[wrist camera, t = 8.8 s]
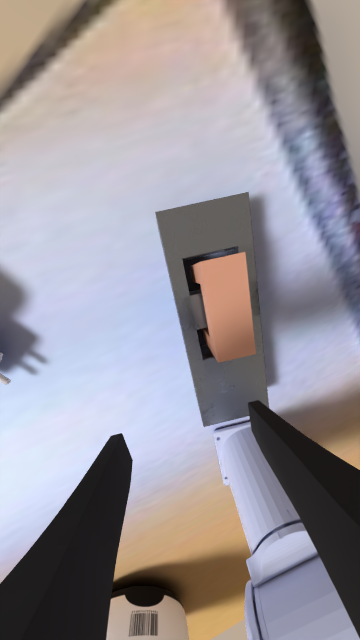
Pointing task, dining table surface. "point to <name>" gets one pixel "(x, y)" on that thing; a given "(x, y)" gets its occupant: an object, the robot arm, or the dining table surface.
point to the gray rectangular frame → (188, 243)
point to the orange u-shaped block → (226, 306)
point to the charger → (3, 379)
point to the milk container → (146, 615)
